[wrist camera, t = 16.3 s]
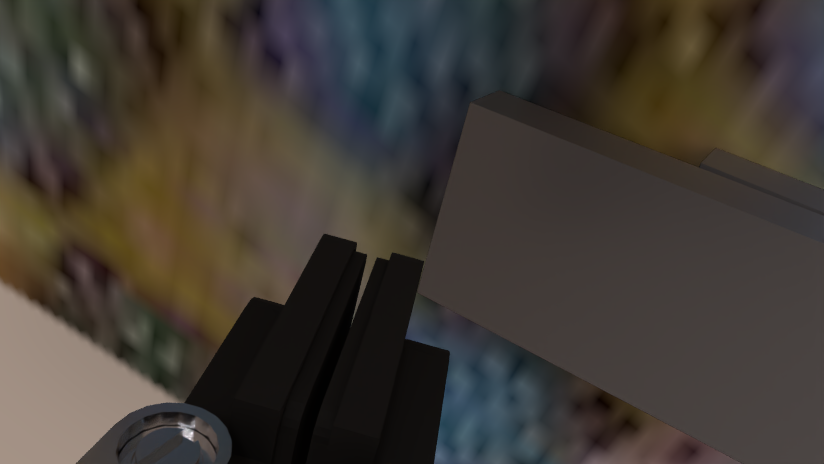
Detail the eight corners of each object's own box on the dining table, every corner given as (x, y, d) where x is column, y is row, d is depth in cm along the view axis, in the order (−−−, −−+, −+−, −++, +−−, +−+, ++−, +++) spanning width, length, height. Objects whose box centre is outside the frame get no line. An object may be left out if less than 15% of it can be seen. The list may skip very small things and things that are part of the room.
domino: (417, 292, 17) (845, 517, 14) (470, 102, 15) (1006, 316, 11) (446, 268, 18) (844, 468, 15) (499, 90, 16) (988, 279, 13)
